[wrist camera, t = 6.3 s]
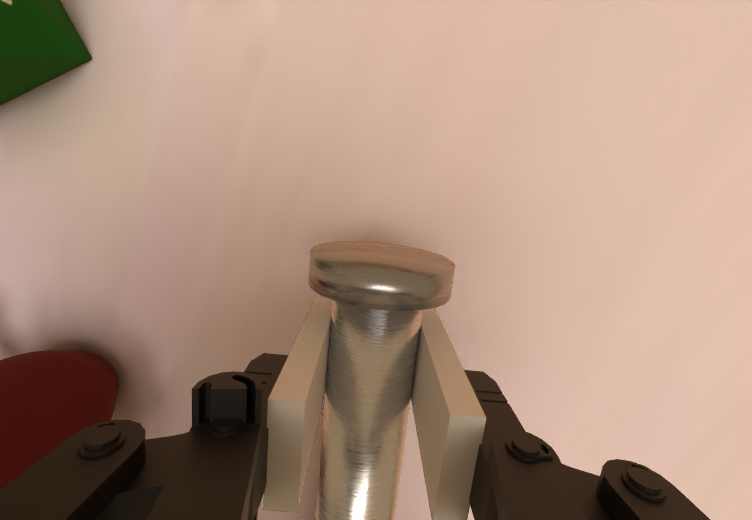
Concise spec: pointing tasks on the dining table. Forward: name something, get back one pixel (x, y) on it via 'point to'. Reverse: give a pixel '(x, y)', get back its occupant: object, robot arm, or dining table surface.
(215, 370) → the dining table surface
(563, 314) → the dining table surface
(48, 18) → the milk carton
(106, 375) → the mug
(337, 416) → the shaft
